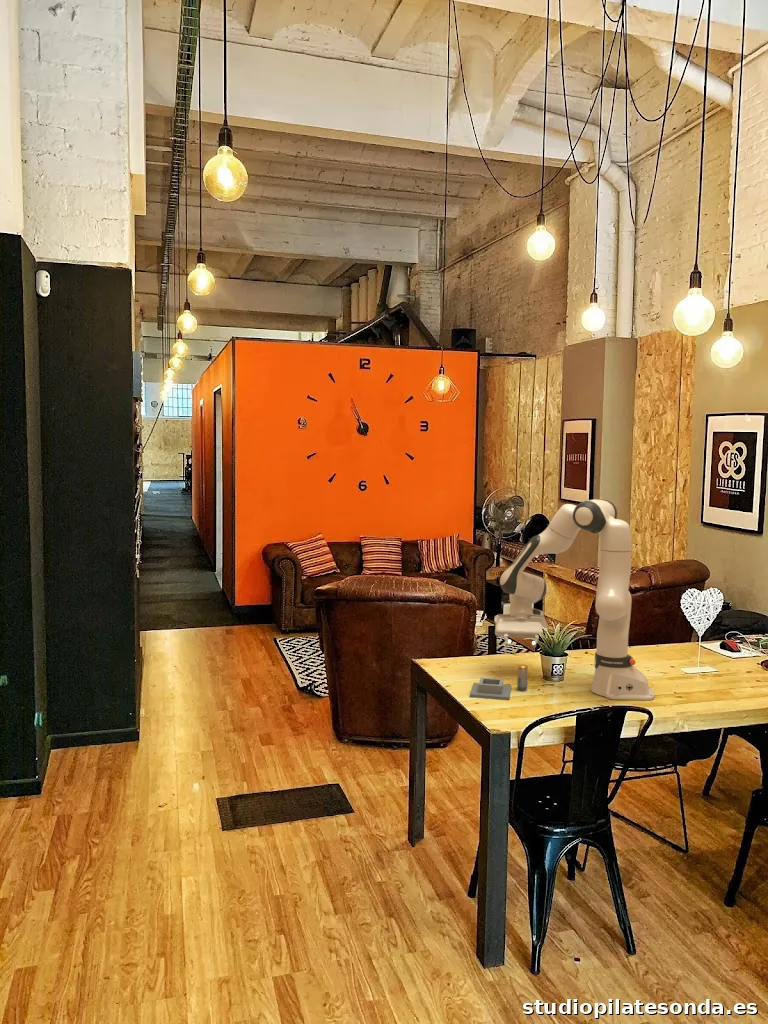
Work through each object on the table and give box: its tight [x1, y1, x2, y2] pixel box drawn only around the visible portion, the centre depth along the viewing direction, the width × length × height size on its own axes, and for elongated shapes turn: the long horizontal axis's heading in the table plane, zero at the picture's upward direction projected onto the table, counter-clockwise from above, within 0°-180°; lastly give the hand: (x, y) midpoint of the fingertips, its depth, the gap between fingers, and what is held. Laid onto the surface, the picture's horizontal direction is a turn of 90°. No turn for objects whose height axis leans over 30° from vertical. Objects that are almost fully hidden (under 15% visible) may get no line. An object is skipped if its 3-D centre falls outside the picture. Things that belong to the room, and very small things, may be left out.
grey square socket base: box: [469, 677, 512, 701], centre depth 283 cm, size 14×14×4 cm
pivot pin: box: [516, 663, 529, 692], centre depth 286 cm, size 4×4×9 cm
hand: (521, 645), depth 296 cm, fingers open, 8 cm apart
